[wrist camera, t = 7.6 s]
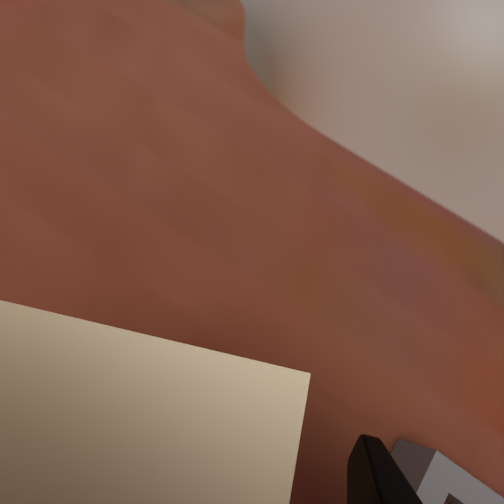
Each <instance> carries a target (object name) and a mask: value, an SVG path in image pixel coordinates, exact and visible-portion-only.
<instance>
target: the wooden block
mask: <svg viewBox="0 0 504 504" xmlns="http://www.w3.org/2000/svg"><path fill="white" fill-rule="evenodd" d="M310 375H311V373H306V372H302V371H298V370H294V369H290V368H285V367H281V366H277V365H273V364H268V363H264V362H260V361H256V360H251V359H247V358H243V357H239V356H234V355H230V354H226V353H222V352H217V351H213V350H209V349H205V348H201V347H196V346H192V345H188V344H184V343H179V342H175V341H171V340H167V339H162V338H158V337H154V336H150V335H145V334H141V333H137V332H133V331H129V330H124V329H120V328H116V327H112V326H107V325H103V324H99V323H95V322H90V321H86V320H82V319H78V318H73V317H69V316H65V315H61V314H56V313H52V312H48V311H44V310H40V309H35V308H31V307H27V306H23V305H18V304H14V303H10V302H6V301H1V300H0V504H289V501H290V495H291V489H292V483H293V477H294V471H295V465H296V459H297V453H298V447H299V441H300V435H301V429H302V423H303V417H304V411H305V405H306V399H307V393H308V387H309V381H310Z"/></svg>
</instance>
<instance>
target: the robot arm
mask: <svg viewBox="0 0 504 504" xmlns="http://www.w3.org/2000/svg"><path fill="white" fill-rule="evenodd" d="M347 504H423V503H422V501H421V500H420V498H419V497H418V495H417V494H416V492H415V490H414V489H413V487H412V486H411V484H410V483H409V481H408V480H407V478H406V477H405V475H404V474H403V472H402V471H401V469H400V468H399V466H398V465H397V463H396V462H395V460H394V459H393V457H392V456H391V454H390V453H389V451H388V450H387V448H386V447H385V445H384V444H383V442H382V441H381V440H380V439H379V438H377V437H373V436H369V435H365V434H362V435H360V436H359V438H358V440H357V442H356V444H355V446H354V448H353V450H352V452H351V454H350V456H349V460H348V466H347Z"/></svg>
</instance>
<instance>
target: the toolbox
mask: <svg viewBox="0 0 504 504" xmlns="http://www.w3.org/2000/svg"><path fill="white" fill-rule="evenodd" d="M390 454H391V456H392V457H393V459H394V460H395V462H396V463H397V465H398V466H399V468H400V469H401V471H402V472H403V474H404V475H405V477H406V478H407V480H408V481H409V483H410V484H411V486H412V487H413V489H414V490H415V492H416V494H417V495H418V497H419V498H420V500H421V501H422V503H423V504H444V502H445V500H446V501H447V502H449V503H450V504H504V498H502V497H501V496H500V495H498V494H497V493H495V492H494V491H493V490H491V489H490V488H488V487H487V486H486V485H484V484H483V483H481V482H480V481H479V480H477V479H476V478H474V477H473V476H472V475H470V474H469V473H467V472H466V471H465V470H463V469H462V468H461V467H459V466H458V465H456V464H455V463H454V462H452V461H451V460H449V459H448V458H447V457H445V456H444V455H442V454H441V453H440V452H438V451H437V450H434V449H431V448H427V447H424V446H421V445H418V444H415V443H412V442H409V441H405V440H402V439H399V438H398V440H397V442H396V444H395V446H394V448H393V450H392V451H391V453H390Z"/></svg>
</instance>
